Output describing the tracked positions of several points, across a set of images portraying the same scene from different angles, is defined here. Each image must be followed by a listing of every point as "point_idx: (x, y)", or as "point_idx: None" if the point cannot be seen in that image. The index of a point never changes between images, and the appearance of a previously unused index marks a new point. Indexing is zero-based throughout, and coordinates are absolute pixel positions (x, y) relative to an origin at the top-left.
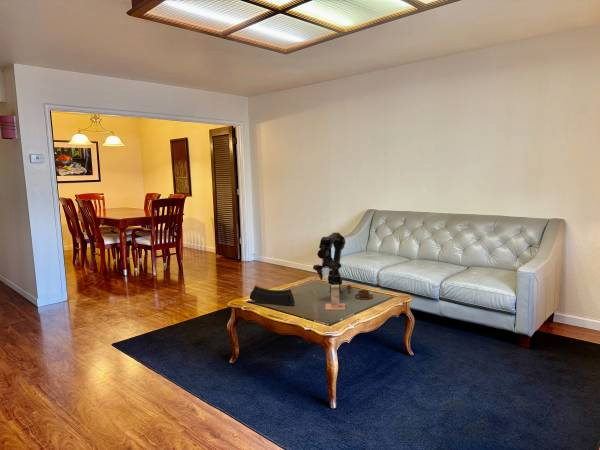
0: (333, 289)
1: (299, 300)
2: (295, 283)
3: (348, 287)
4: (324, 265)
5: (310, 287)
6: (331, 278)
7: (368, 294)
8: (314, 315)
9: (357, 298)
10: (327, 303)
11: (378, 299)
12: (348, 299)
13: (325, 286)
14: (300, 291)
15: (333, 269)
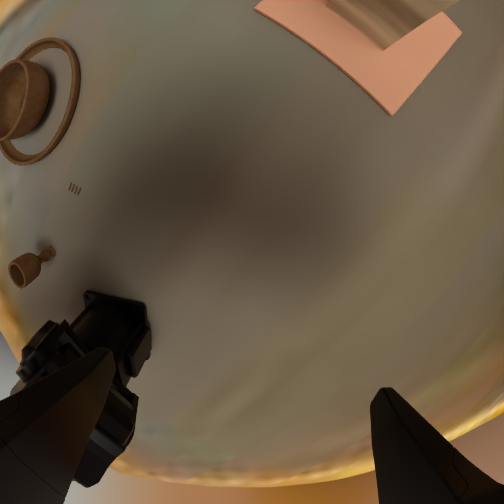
0: None
1: (443, 321)
2: (229, 485)
3: (28, 263)
4: None
5: (206, 447)
6: (106, 411)
7: (10, 72)
8: None
9: (78, 76)
10: (383, 103)
11: (19, 34)
12: (134, 101)
13: None
14: (296, 437)
15: (28, 496)
